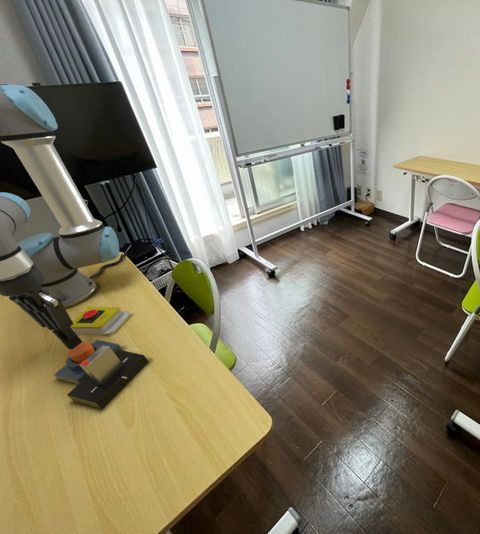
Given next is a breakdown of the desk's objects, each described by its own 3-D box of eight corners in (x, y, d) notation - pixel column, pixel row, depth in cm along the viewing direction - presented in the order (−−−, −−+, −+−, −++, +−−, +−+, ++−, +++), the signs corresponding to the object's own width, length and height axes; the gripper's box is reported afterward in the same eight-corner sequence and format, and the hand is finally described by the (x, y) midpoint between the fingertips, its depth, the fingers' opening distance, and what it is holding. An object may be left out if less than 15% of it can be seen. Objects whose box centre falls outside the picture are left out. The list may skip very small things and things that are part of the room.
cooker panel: (123, 356, 83) (117, 348, 82) (153, 362, 81) (148, 355, 79) (73, 401, 72) (66, 394, 71) (107, 411, 70) (100, 403, 68)
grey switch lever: (117, 363, 78) (102, 344, 73) (123, 365, 77) (108, 345, 73) (96, 383, 73) (78, 364, 68) (102, 385, 72) (85, 365, 68)
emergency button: (82, 303, 96) (125, 303, 95) (89, 313, 99) (132, 313, 98) (57, 324, 89) (104, 324, 88) (66, 334, 91) (111, 334, 90)
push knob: (86, 346, 82) (81, 340, 81) (99, 349, 81) (94, 343, 80) (68, 360, 78) (63, 354, 77) (82, 364, 77) (77, 358, 76)
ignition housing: (100, 344, 87) (93, 335, 85) (122, 349, 86) (115, 339, 83) (58, 379, 78) (49, 370, 76) (81, 385, 76) (72, 376, 74)
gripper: (-31, 279, 62) (41, 352, 76) (13, 286, 59) (80, 361, 73) (10, 260, 68) (71, 330, 82) (52, 266, 65) (107, 338, 79)
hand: (75, 345), depth 77 cm, fingers closed
